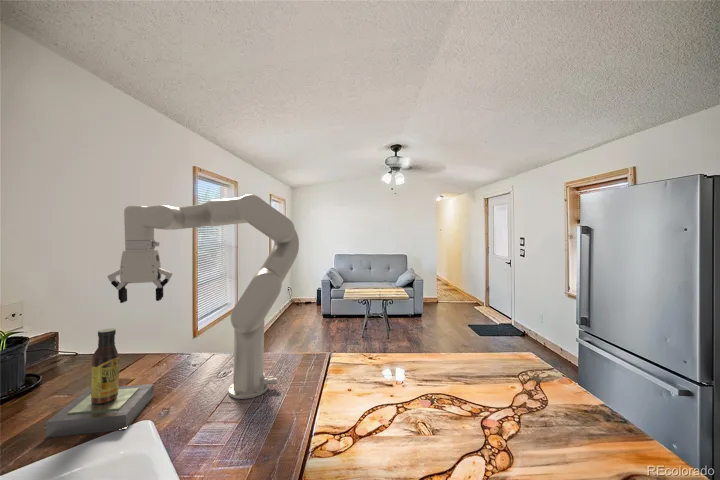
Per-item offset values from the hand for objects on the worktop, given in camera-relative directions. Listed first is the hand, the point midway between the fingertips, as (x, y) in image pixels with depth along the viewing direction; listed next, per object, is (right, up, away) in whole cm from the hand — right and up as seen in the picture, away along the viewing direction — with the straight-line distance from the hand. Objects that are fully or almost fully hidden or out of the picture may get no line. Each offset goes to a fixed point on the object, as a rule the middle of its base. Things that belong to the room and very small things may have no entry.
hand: (141, 301), depth 101 cm
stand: (-5, -31, -8) cm, 32 cm away
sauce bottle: (-5, -27, -8) cm, 29 cm away
